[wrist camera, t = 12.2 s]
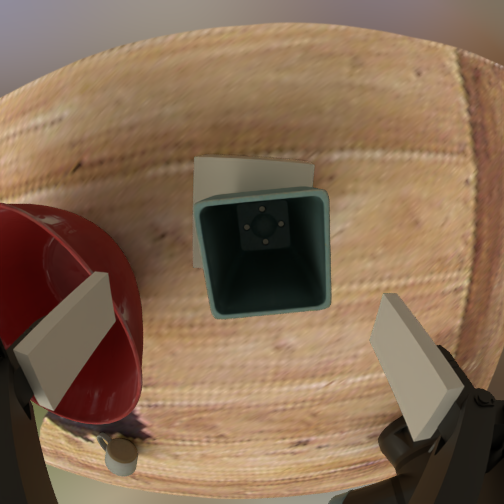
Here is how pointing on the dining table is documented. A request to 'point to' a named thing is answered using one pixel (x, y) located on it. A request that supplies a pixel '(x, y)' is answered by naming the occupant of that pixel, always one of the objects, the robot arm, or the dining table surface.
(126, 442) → the ceramic mug
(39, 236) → the mixing bowl
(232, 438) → the dining table surface
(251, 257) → the flower pot
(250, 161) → the stone block
